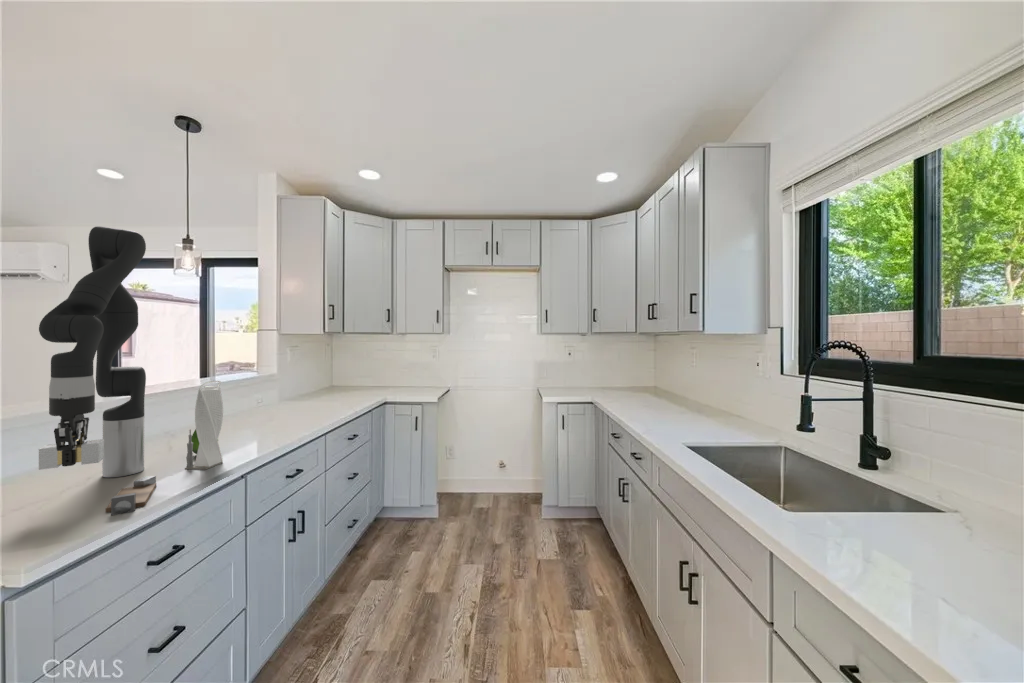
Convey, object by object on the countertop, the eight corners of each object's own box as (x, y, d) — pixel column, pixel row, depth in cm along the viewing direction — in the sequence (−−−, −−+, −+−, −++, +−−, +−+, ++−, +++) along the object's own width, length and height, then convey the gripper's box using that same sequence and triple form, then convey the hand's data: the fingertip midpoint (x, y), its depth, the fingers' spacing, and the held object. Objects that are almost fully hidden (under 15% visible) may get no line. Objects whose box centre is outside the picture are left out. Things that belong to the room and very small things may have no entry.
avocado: (210, 457, 137) (210, 423, 137) (184, 458, 136) (185, 424, 136) (222, 450, 145) (222, 419, 145) (198, 451, 144) (199, 419, 144)
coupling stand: (124, 488, 108) (125, 474, 108) (158, 483, 112) (158, 469, 112) (101, 517, 91) (101, 500, 91) (142, 509, 95) (142, 493, 95)
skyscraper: (206, 461, 133) (207, 380, 133) (229, 461, 132) (229, 380, 132) (184, 469, 124) (185, 382, 124) (208, 469, 124) (209, 383, 124)
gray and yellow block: (46, 464, 95) (46, 444, 95) (103, 458, 101) (103, 439, 101) (38, 469, 92) (38, 448, 92) (98, 462, 97) (98, 443, 97)
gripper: (61, 391, 100) (61, 457, 100) (36, 400, 88) (36, 474, 88) (103, 389, 104) (103, 452, 104) (84, 397, 92) (84, 468, 92)
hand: (72, 462), depth 96 cm, fingers closed on gray and yellow block, 4 cm apart
